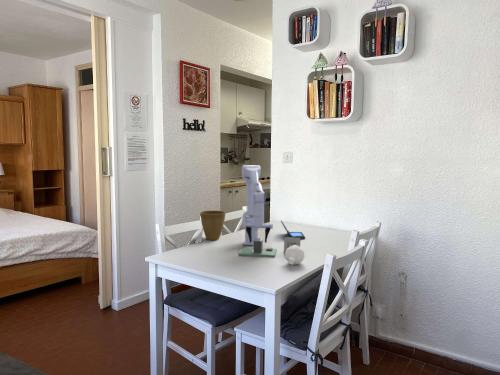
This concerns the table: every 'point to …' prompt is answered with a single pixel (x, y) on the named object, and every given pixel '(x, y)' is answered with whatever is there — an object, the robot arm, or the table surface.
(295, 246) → the perfume bottle
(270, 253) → the pcb
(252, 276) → the table surface
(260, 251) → the plug
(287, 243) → the electrical switch
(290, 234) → the handheld game console
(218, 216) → the plant pot
